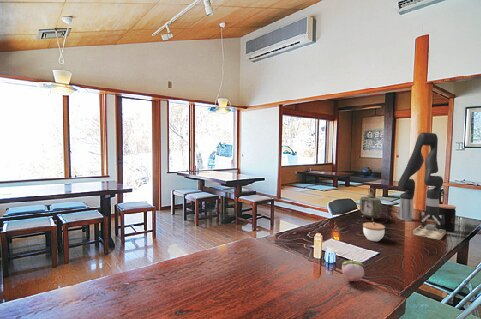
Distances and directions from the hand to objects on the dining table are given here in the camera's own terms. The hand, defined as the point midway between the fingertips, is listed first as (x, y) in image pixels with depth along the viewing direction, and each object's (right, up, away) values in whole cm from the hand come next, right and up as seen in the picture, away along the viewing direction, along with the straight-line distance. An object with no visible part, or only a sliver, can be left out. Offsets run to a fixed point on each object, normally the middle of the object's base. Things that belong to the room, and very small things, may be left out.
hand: (430, 228), depth 188 cm
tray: (-3, -4, -3) cm, 6 cm away
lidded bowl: (-45, -4, -12) cm, 47 cm away
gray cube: (0, -3, 0) cm, 3 cm away
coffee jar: (+14, -4, +6) cm, 16 cm away
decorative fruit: (-81, -7, -66) cm, 105 cm away
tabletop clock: (-25, -1, +35) cm, 43 cm away
